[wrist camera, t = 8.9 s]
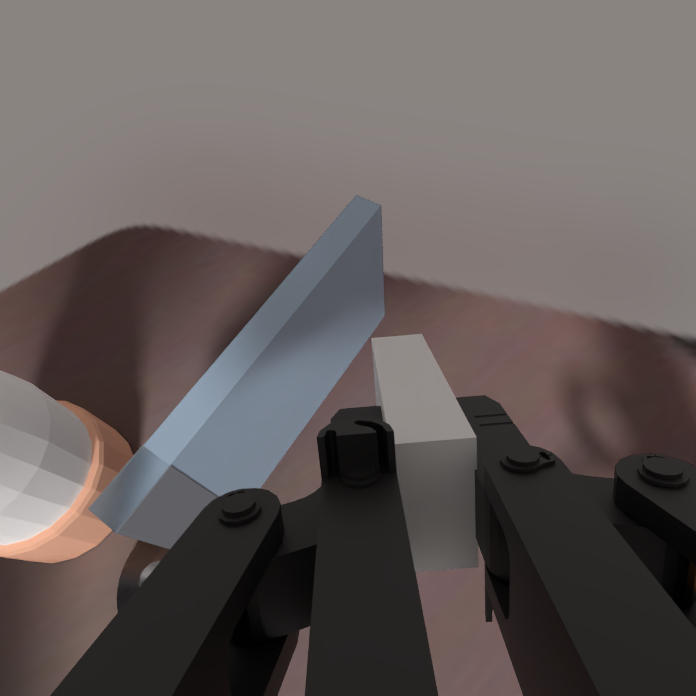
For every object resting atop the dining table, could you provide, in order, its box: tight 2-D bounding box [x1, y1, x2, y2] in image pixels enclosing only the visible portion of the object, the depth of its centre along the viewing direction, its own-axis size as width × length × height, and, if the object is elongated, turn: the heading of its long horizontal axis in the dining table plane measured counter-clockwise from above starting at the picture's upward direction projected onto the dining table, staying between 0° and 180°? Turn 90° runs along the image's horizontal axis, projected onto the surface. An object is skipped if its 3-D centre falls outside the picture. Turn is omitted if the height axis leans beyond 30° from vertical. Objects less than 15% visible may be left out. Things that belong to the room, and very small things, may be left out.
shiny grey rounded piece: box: [117, 541, 170, 612], centre depth 22 cm, size 6×6×4 cm
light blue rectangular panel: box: [88, 195, 385, 549], centre depth 22 cm, size 15×1×8 cm, turn 146°
